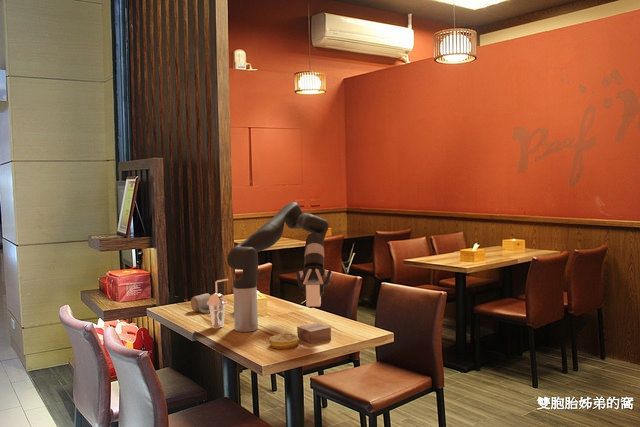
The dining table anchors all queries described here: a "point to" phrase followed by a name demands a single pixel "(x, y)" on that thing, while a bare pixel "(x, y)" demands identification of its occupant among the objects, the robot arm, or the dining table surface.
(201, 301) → the ceramic mug
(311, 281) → the canister
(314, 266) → the robot arm
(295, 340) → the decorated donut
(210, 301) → the cup with straw
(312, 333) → the walnut block
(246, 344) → the dining table surface
